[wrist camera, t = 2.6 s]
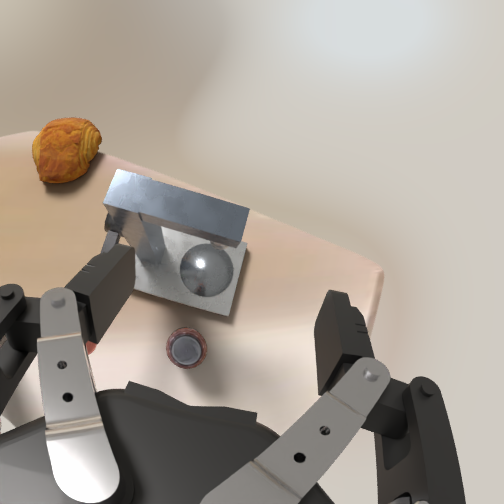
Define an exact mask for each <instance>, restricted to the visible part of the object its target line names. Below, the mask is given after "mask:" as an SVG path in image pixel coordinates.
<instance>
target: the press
mask: <svg viewBox="0 0 504 504" xmlns="http://www.w3.org/2000/svg"><path fill="white" fill-rule="evenodd" d="M103 204H104V206H105V207H106V209H107V210H108V212H109V214H110V215H111V217H112V219H113V220H114V222H115V223H116V225H117V226H118V228H119V230H120V231H121V233H122V234H123V236H124V237H125V239H126V240H127V242H128V243H129V245H130V246H131V247H134V248H135V270H136V281H135V286H134V289H135V290H138V291H141V292H144V293H147V294H151V295H154V296H157V297H160V298H164V299H167V300H170V301H174V302H177V303H180V304H184V305H187V306H191V307H194V308H198V309H201V310H205V311H208V312H212V313H216V314H219V315H223V316H229V313H230V309H231V305H232V301H233V297H234V293H235V289H236V285H237V281H238V278H239V274H240V270H241V266H242V262H243V258H244V254H245V250H246V247H247V243H245V242H242V241H241V240H242V236H243V232H244V228H245V225H246V221H247V217H248V213H249V210H250V209H249V208H246V207H243V206H239V205H236V204H233V203H230V202H226V201H223V200H220V199H216V198H213V197H210V196H206V195H203V194H200V193H196V192H193V191H190V190H186V189H183V188H179V187H176V186H172V185H169V184H165V183H162V182H158V181H154V180H152V178H149V177H146V176H142V175H138V174H135V173H131V172H127V171H124V170H120V169H117V171H116V174H115V176H114V178H113V180H112V183H111V185H110V187H109V189H108V192H107V194H106V197H105V199H104V201H103Z"/></svg>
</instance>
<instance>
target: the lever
mask: <svg viewBox="0 0 504 504" xmlns="http://www.w3.org/2000/svg"><path fill="white" fill-rule="evenodd" d="M105 231H106V232H108V233H107V236H106V239H105V242H104V244H103V247H102V250H101V253H103V252H106V253H108V252H109V251H110V250H111V249H112V248H113V247H114V246H115V245H116V244H118V242H119V239H120V237H121V236H122V237H124V236H123V234H122V233H121V231H120V230H119V228H118V226H117V225H116V223H115V222H114V220H113V219H112V217H111V215H110V214H109V212H108V214H107V217H106V220H105ZM101 253H100V254H101ZM96 345H97V344H95V343H93V342H90V341H87V343H86V348H87V352H88V355H89V354H91V353H92V352H93V351H94V350H95V348H96Z"/></svg>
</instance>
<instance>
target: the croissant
mask: <svg viewBox="0 0 504 504" xmlns="http://www.w3.org/2000/svg"><path fill="white" fill-rule="evenodd" d="M101 142H102V137H101V135H100V132H99V130H98V129H97V128H96V127H95V126H94V125H93V124H92V123H91V122H90V121H89V120H86V119H81V118H61V119H56V120H53V121H51V122H49V123H48V124H47V125H46V126H45V127H44V128H43V129H42V131H41V132H40V133H39V135H38V136H36V138H35V140H34V142H33V145H32V153H33V159H34V162H35V164H36V166H37V171H38V173H39V178H40V181H43V182H49V183H64V182H68V181H72V180H75V179H77V178H78V177H80V176H82V175H84V174H85V173H86V172H87V169H88V168H89V165H90V163H89V161H90V160H92V159H93V158H94V156H95V155H96V153H97V152H98V149H99V147H98V146H99V145H100V144H101Z"/></svg>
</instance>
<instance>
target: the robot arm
mask: <svg viewBox="0 0 504 504" xmlns="http://www.w3.org/2000/svg"><path fill="white" fill-rule="evenodd" d="M135 281H136V270H135V248H134V247H131V246H127V245H122V244H116V245H115V246H114V247H113V248H112V249H111V250H110V251H109V252H108V253H106V252H103V253H101V254H99V255H97V256H95V257H93V258H92V259H91V260H90V261H89V262H88V263H87V265H85V266H84V267H83V268H82V271H81V270H80V271H79V272H78V273H77V275H76V276H75V277H74V278H73V279H72V280H71V281H70V282H69V283H68V284H67V285H66V286H65V287H64V288H54V289H51V290H49V291H47V292H46V293H44V294H43V295H42V297H41V298H34V297H25V296H24V292H23V289H22V288H21V287H20V286H19V285H17V284H7V285H4V286H1V287H0V340H1V339H2V337H3V336H4V335H5V336H6V338H7V340H6V341H5V343H4V344H3V345H2V347H1V348H0V416H1V414H2V412H3V410H4V408H5V406H6V405H7V403H8V401H9V399H10V398H11V396H12V394H13V392H14V391H15V389H16V387H17V386H18V384H19V382H20V381H21V379H22V377H23V376H24V374H25V372H26V371H27V369H28V368H29V366H30V364H31V363H32V361H33V360H34V358H35V357H36V355H37V353H38V366H39V377H40V386H41V394H42V402H43V408H44V415H45V416H43V417H41V418H38V419H36V420H34V421H31V422H29V423H27V424H24V425H22V426H20V427H17V428H15V429H13V430H10V431H8V432H6V433H3V434H1V432H0V504H334V502H333V501H332V500H331V499H330V498H329V496H328V495H327V494H326V493H325V491H324V490H323V489H322V488H321V487H320V486H319V484H318V483H317V481H318V480H319V479H320V478H321V477H322V475H323V474H324V473H325V472H326V471H327V470H328V469H329V467H330V466H331V465H332V464H333V463H334V461H335V460H336V459H337V458H338V456H339V455H340V454H341V453H342V451H343V450H344V449H345V448H346V446H347V445H348V444H349V442H350V441H351V440H352V438H353V437H354V436H355V434H356V433H357V432H358V430H359V429H360V428H363V429H366V430H368V431H371V432H374V438H375V450H376V464H377V465H376V466H377V486H378V504H466V502H465V495H464V488H463V482H462V477H461V472H460V466H459V461H458V457H457V452H456V447H455V443H454V439H453V435H452V430H451V427H450V423H449V419H448V415H447V412H446V408H445V404H444V401H443V398H442V395H441V391H440V389H439V387H438V386H437V385H436V384H435V382H433V381H432V380H430V379H429V378H426V377H416V378H414V379H413V380H412V381H411V382H410V383H409V384H406V383H404V382H401V381H398V380H395V379H393V378H390V373H389V370H388V369H387V367H386V366H385V365H384V364H383V363H381V362H380V361H378V360H376V359H375V357H374V353H373V350H372V346H371V342H370V338H369V335H368V331H367V327H366V324H365V320H364V317H363V315H362V314H361V312H360V311H359V310H358V309H357V307H352V306H351V305H350V301H349V297H348V294H347V293H344V292H339V291H334V290H329V291H328V292H327V294H326V297H325V299H324V302H323V304H322V307H321V309H320V312H319V314H318V317H317V319H316V322H315V328H314V338H315V351H316V365H317V380H318V395H320V396H321V397H320V398H319V399H318V401H317V402H316V403H315V404H314V405H313V406H312V407H311V408H310V409H309V410H308V411H307V412H306V413H305V414H304V415H303V416H302V417H301V418H300V419H299V420H297V421H296V422H295V423H294V424H293V425H292V426H291V427H290V428H289V429H288V430H287V431H286V432H285V433H284V434H283V435H282V436H281V437H280V436H279V435H278V434H277V433H276V432H274V431H273V430H271V429H270V428H268V427H266V426H264V425H263V424H261V423H258V422H256V419H257V413H256V412H250V411H245V410H239V409H234V408H229V407H207V406H189V405H186V404H184V403H182V402H180V401H178V400H176V399H174V398H173V397H171V396H169V395H167V394H165V393H163V392H161V391H159V390H157V389H153V388H150V387H147V386H143V385H140V384H137V383H134V382H131V381H129V382H128V384H127V386H126V389H108V390H103V391H99V392H97V389H96V385H95V381H94V378H93V374H92V369H91V365H90V361H89V357H88V352H87V348H86V343H87V341H90V342H93V343H95V344H98V343H99V342H100V340H101V338H102V337H103V335H104V334H105V332H106V331H107V329H108V328H109V326H110V325H111V323H112V322H113V320H114V319H115V317H116V315H117V314H118V312H119V311H120V310H121V308H122V307H123V305H124V304H125V302H126V301H127V299H128V298H129V296H130V295H131V293H132V292H133V289H134V286H135ZM0 430H1V419H0Z"/></svg>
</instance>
